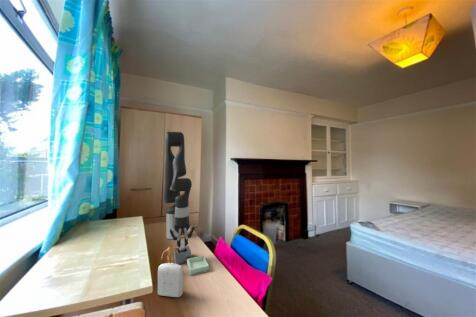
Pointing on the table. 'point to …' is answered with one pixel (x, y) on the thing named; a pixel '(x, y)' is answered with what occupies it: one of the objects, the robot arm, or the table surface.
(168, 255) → the figurine
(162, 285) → the photo printer
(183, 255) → the socket block
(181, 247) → the pin
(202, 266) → the tray
